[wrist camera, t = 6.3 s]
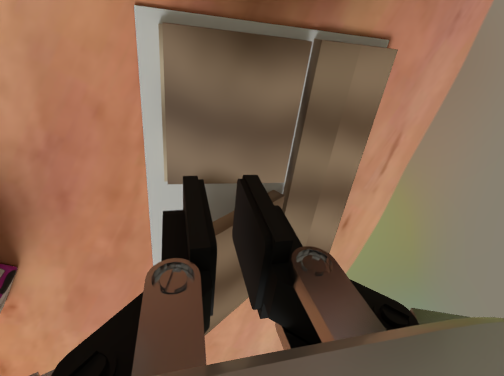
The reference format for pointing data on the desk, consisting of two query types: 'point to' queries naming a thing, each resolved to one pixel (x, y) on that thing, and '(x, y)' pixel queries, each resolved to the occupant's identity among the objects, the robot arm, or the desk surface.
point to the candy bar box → (6, 282)
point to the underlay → (150, 89)
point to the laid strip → (332, 135)
